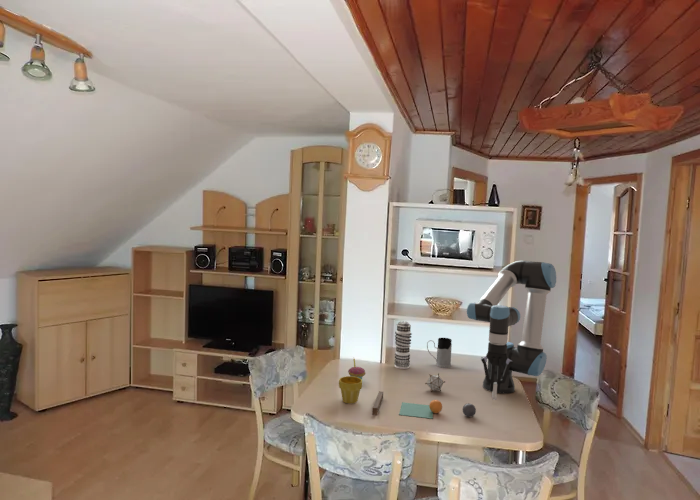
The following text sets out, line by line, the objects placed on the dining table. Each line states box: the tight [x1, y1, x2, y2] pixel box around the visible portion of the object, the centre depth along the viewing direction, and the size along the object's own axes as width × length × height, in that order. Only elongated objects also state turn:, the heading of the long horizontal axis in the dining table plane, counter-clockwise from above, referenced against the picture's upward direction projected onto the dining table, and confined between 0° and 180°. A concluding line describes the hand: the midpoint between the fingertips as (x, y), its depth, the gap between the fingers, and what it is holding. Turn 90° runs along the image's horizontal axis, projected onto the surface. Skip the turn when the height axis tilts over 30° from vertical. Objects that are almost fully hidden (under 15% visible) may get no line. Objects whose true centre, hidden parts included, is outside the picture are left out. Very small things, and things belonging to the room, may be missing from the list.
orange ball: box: [428, 399, 443, 414], centre depth 210 cm, size 6×6×6 cm
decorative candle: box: [394, 320, 413, 370], centre depth 272 cm, size 9×9×25 cm
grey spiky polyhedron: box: [424, 373, 446, 393], centre depth 237 cm, size 9×8×10 cm
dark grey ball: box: [462, 402, 477, 418], centre depth 208 cm, size 6×6×6 cm
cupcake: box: [347, 358, 366, 380], centre depth 246 cm, size 9×8×12 cm
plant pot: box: [338, 375, 363, 405], centre depth 220 cm, size 10×10×10 cm
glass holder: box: [426, 337, 453, 369], centre depth 279 cm, size 9×14×15 cm, turn 80°
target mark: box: [398, 401, 434, 420], centre depth 212 cm, size 14×14×1 cm
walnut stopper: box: [371, 390, 384, 416], centre depth 215 cm, size 2×20×3 cm, turn 169°
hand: (494, 398), depth 205 cm, fingers closed
